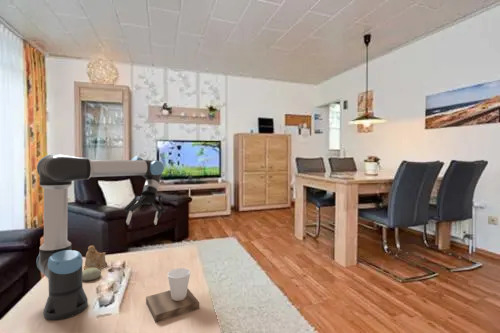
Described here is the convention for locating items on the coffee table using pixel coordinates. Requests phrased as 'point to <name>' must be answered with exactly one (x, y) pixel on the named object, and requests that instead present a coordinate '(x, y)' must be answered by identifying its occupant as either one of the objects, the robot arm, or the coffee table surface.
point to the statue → (94, 259)
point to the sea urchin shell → (90, 274)
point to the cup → (178, 283)
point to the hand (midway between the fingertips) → (141, 223)
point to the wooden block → (170, 305)
